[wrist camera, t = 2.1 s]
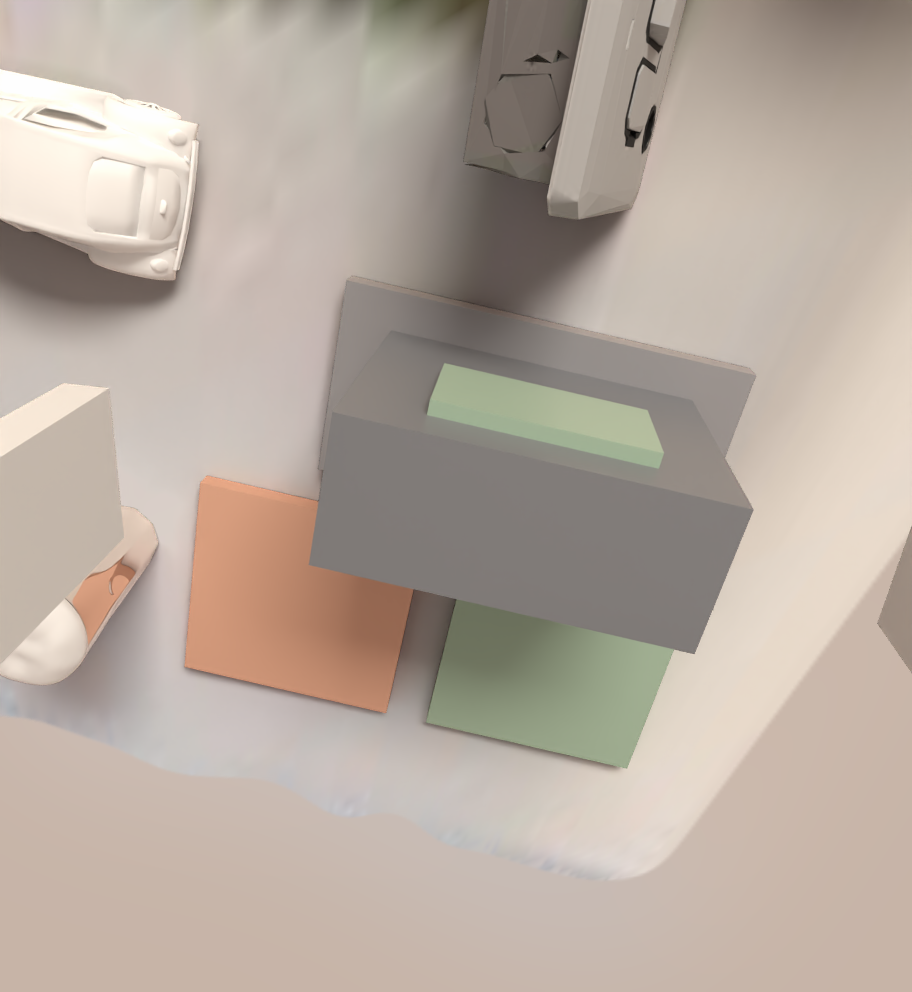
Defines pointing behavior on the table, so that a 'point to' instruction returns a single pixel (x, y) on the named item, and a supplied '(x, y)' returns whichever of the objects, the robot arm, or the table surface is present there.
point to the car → (97, 173)
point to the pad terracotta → (286, 603)
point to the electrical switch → (572, 96)
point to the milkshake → (84, 609)
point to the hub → (529, 466)
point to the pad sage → (545, 684)
